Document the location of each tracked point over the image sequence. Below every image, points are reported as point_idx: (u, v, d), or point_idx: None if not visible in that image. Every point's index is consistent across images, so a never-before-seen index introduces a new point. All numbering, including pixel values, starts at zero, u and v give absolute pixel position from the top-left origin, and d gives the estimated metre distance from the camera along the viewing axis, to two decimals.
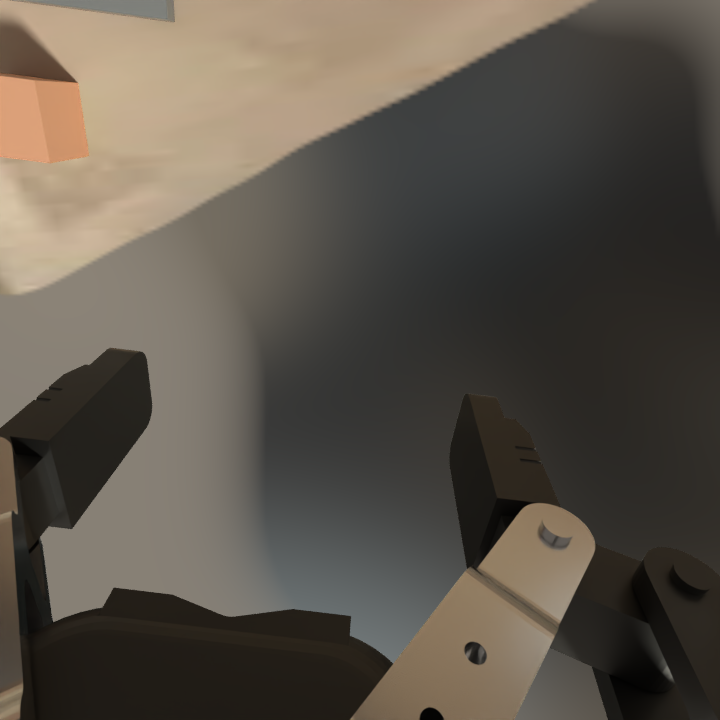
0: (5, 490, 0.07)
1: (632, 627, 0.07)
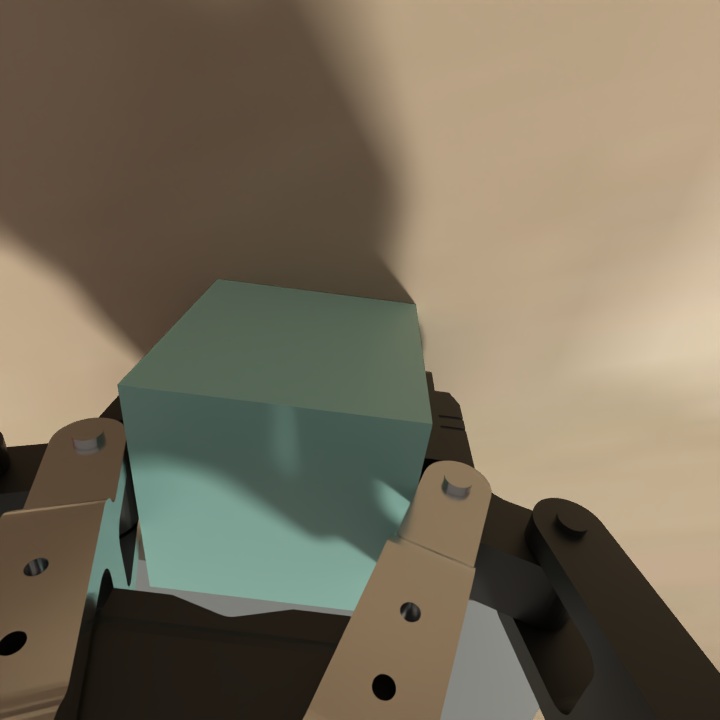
0: (111, 475, 0.07)
1: (520, 568, 0.08)
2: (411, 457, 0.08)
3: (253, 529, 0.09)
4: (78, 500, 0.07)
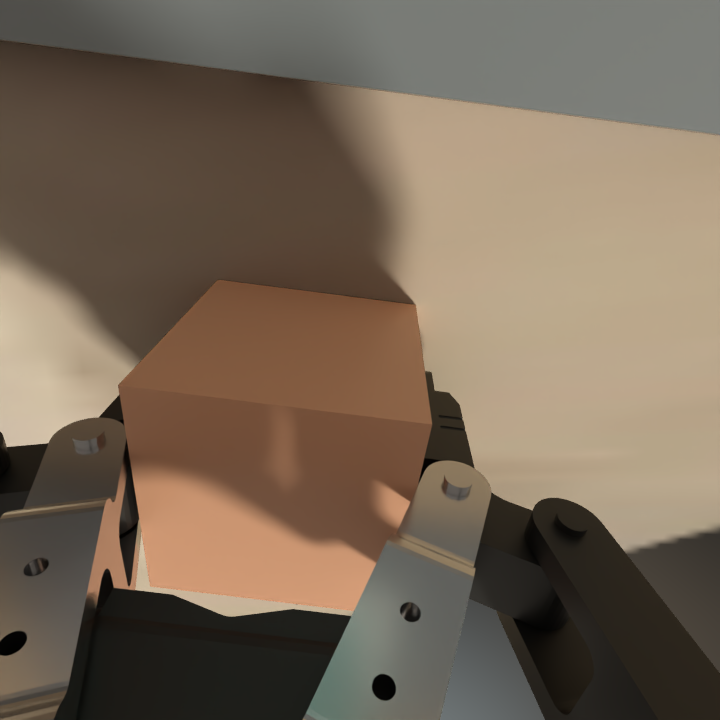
0: (111, 475, 0.07)
1: (520, 567, 0.08)
2: None
3: None
4: (78, 500, 0.07)
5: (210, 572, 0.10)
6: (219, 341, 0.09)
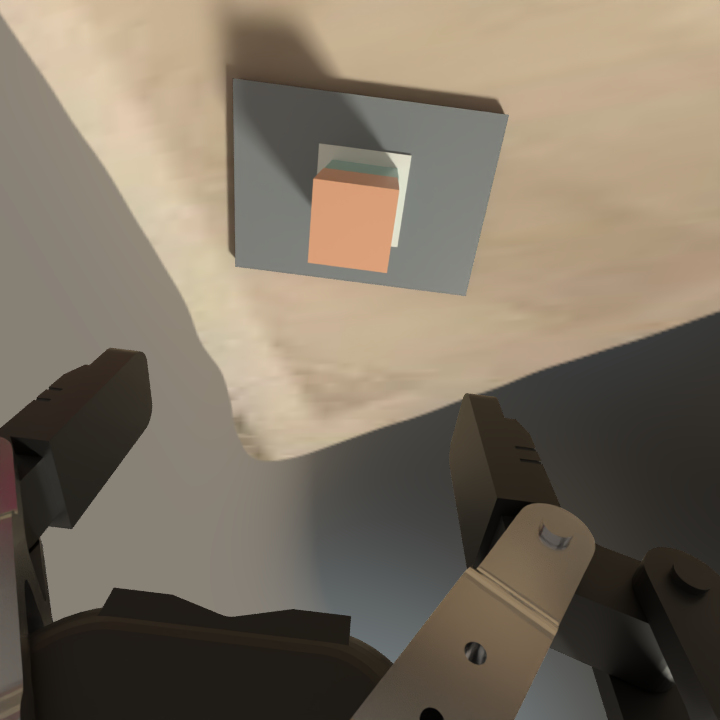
0: (5, 490, 0.07)
1: (632, 627, 0.07)
2: None
3: None
4: None
5: (329, 254, 0.29)
6: (334, 176, 0.29)
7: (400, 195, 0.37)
